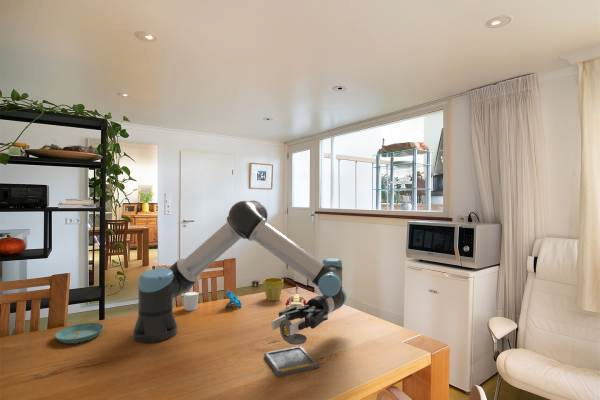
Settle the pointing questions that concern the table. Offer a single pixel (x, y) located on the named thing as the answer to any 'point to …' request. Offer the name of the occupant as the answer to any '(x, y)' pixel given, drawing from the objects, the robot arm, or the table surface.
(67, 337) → the saucer
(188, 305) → the white cup
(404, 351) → the table surface
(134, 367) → the table surface
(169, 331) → the robot arm
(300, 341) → the pocket watch
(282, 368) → the pocket plate
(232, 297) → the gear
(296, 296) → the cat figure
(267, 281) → the plant pot
